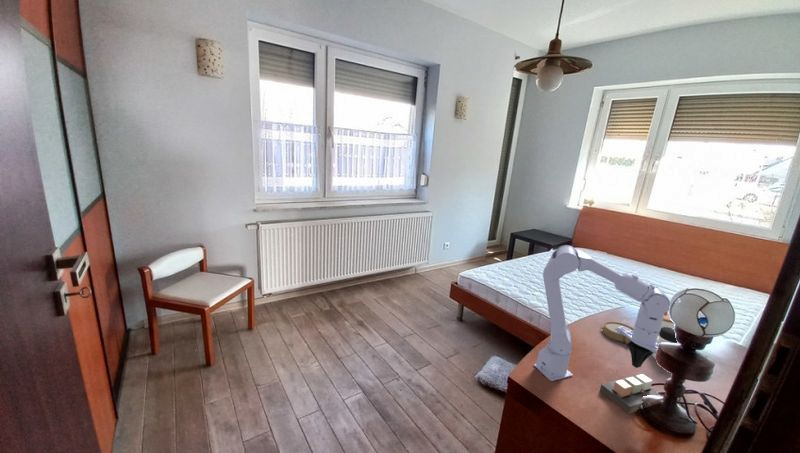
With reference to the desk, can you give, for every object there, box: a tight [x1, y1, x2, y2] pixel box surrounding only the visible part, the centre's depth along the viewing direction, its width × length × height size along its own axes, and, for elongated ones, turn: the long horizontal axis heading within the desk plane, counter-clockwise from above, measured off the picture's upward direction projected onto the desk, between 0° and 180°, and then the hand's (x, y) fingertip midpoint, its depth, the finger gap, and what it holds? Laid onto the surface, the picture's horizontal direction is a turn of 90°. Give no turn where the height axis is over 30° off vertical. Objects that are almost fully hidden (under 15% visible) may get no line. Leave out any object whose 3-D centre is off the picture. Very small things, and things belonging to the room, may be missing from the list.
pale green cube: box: [625, 376, 642, 394], centre depth 94 cm, size 3×3×3 cm
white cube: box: [634, 373, 653, 391], centre depth 95 cm, size 3×3×3 cm
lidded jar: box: [659, 311, 674, 333], centre depth 132 cm, size 11×11×9 cm
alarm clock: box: [600, 321, 634, 345], centre depth 126 cm, size 11×5×15 cm
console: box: [599, 375, 661, 415], centre depth 95 cm, size 14×9×3 cm, turn 108°
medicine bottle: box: [651, 327, 677, 359], centre depth 113 cm, size 7×7×12 cm
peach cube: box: [613, 379, 632, 397], centre depth 92 cm, size 3×3×3 cm
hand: (636, 365), depth 94 cm, fingers closed
